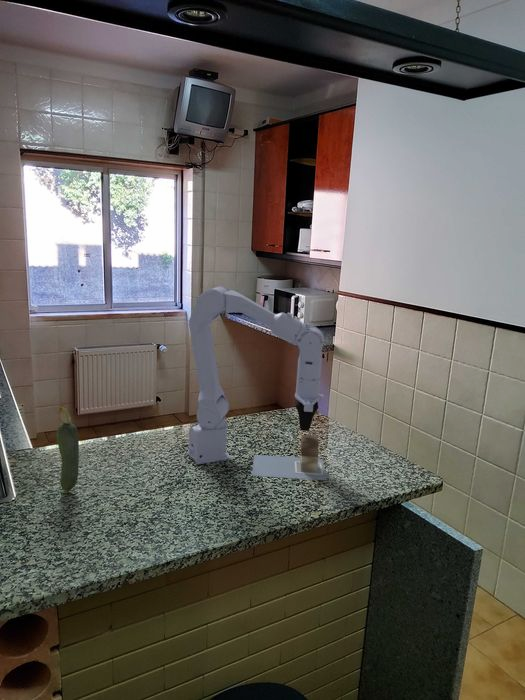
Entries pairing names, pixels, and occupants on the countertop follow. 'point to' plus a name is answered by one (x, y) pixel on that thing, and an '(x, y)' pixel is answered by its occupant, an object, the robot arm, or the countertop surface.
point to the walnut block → (309, 445)
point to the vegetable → (68, 451)
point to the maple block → (309, 464)
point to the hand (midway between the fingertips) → (304, 429)
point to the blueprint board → (285, 468)
